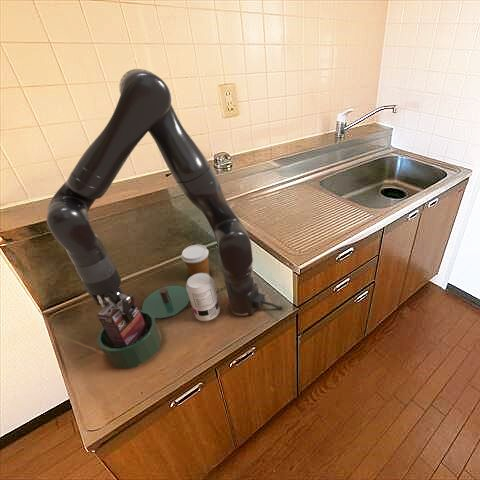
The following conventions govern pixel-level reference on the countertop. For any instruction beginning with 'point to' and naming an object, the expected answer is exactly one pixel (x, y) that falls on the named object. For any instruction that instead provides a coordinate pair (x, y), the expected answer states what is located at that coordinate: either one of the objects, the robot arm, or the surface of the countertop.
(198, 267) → the disposable coffee cup
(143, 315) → the pot
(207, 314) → the supplement can
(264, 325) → the countertop surface
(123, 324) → the supplement box
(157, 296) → the lid
